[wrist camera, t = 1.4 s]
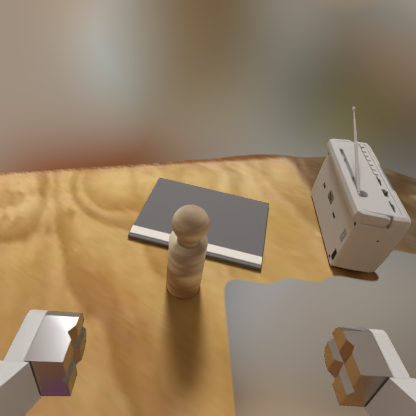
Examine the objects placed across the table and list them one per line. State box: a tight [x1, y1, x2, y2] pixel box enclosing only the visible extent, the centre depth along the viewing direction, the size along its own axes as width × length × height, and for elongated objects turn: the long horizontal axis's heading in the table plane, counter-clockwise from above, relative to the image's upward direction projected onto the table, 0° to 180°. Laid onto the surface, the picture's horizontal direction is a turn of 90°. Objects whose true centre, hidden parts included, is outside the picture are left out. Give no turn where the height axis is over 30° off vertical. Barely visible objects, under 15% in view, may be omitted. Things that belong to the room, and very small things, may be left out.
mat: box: [128, 178, 269, 270], centre depth 59 cm, size 22×16×1 cm
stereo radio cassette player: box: [311, 107, 411, 272], centre depth 56 cm, size 21×8×20 cm, turn 177°
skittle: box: [166, 205, 210, 299], centre depth 44 cm, size 5×5×15 cm
